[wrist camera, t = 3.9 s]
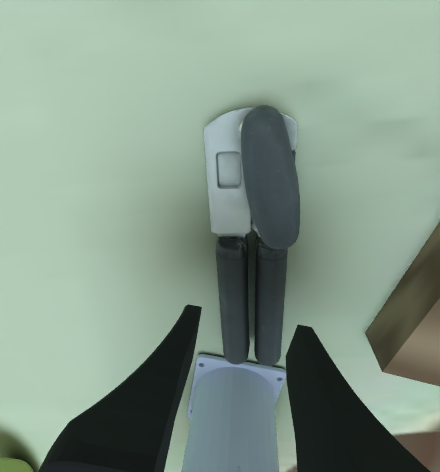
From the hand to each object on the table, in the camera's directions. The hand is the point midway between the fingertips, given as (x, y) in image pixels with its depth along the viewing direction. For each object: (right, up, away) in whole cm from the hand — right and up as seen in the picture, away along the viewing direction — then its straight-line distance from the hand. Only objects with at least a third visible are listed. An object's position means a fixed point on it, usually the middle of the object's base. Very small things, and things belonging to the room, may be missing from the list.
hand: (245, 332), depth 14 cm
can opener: (+1, +4, +8) cm, 9 cm away
